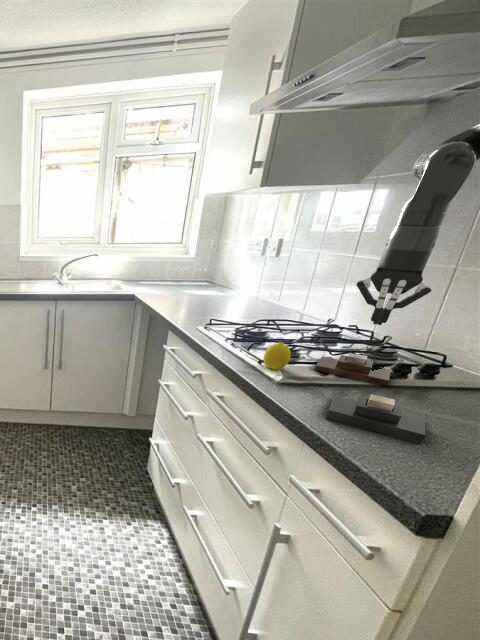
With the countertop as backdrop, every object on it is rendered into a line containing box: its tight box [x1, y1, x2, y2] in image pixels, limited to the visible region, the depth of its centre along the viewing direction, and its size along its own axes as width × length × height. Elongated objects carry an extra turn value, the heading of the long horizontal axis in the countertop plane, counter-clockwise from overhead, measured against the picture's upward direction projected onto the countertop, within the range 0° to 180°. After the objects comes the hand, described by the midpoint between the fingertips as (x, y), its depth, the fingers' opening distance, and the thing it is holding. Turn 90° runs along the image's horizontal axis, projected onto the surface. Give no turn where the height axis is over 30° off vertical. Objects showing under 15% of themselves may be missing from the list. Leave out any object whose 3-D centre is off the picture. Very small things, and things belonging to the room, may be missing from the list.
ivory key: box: [367, 393, 396, 412], centre depth 83 cm, size 4×4×2 cm
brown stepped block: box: [314, 354, 392, 386], centre depth 107 cm, size 14×10×4 cm
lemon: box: [263, 341, 291, 370], centre depth 109 cm, size 6×6×8 cm
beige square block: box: [346, 352, 368, 365], centre depth 106 cm, size 4×4×2 cm
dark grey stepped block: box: [324, 395, 426, 446], centre depth 84 cm, size 14×10×4 cm
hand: (376, 323), depth 98 cm, fingers closed
